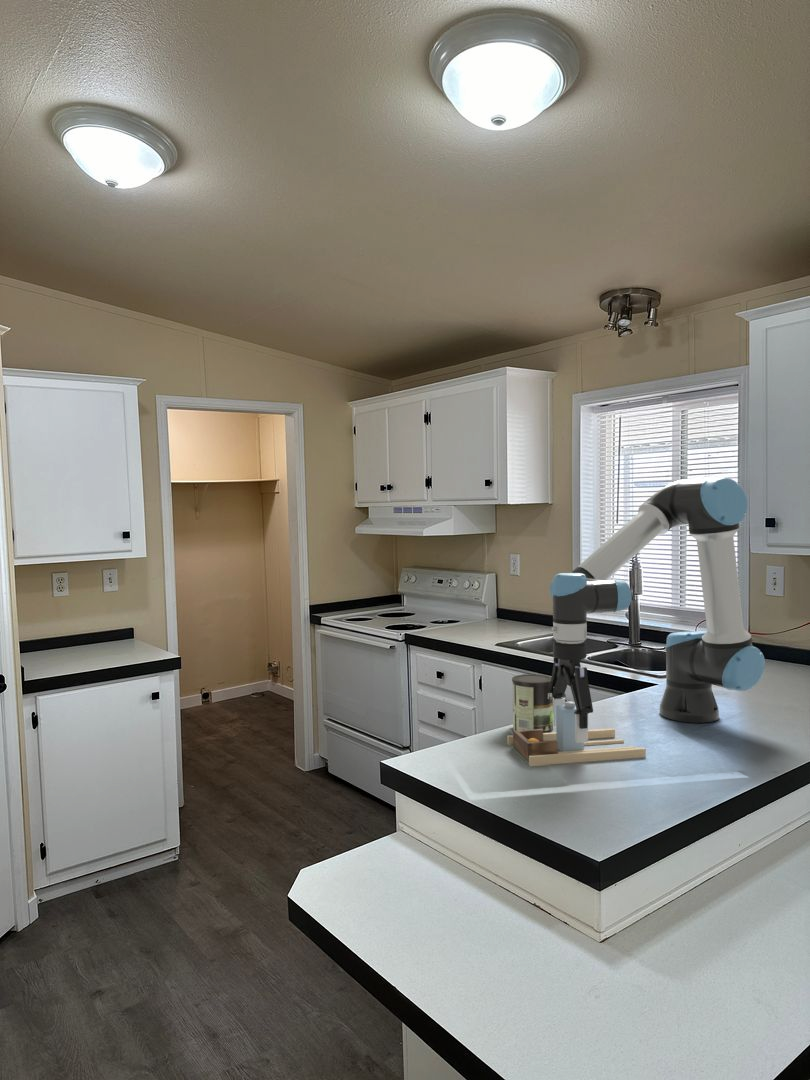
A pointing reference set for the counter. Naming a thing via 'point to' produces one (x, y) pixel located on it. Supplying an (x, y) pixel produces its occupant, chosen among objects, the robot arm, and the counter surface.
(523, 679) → the coffee can
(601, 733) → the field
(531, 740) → the ball
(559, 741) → the block
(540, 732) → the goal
